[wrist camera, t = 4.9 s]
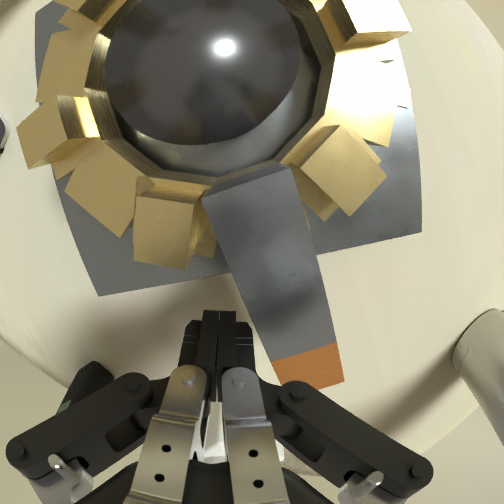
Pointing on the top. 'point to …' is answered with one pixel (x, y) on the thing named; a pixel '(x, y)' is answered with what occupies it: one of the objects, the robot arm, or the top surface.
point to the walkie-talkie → (86, 384)
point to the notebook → (3, 131)
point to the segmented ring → (237, 183)
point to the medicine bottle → (216, 440)
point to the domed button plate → (224, 121)
